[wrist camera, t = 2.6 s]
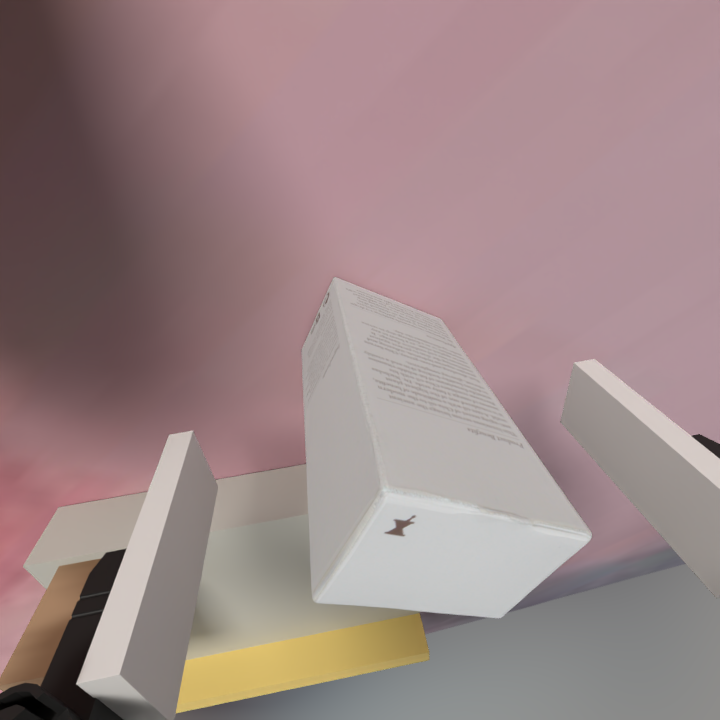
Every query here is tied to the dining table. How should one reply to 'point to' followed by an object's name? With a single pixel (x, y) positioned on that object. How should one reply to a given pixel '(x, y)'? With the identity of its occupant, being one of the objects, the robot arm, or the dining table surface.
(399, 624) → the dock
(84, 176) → the dining table surface
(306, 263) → the dining table surface
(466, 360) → the skincare box
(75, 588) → the tan wooden cube
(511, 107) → the dining table surface
